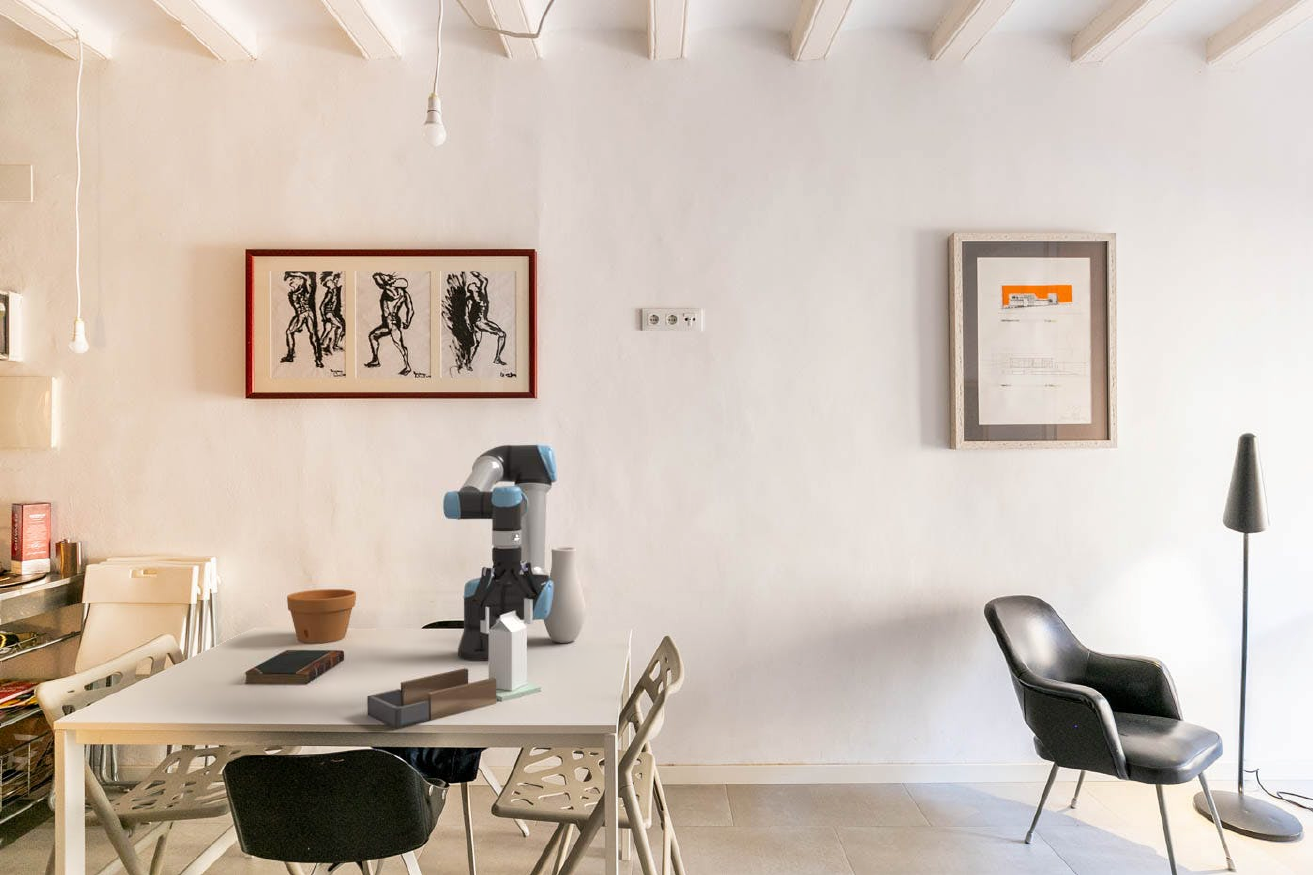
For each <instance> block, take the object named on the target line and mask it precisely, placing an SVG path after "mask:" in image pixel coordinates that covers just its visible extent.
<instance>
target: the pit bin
mask: <svg viewBox="0 0 1313 875" xmlns="http://www.w3.org/2000/svg"><path fill="white" fill-rule="evenodd" d="M366 705H367V710H366V711H367V715H366V716H368V717H369V718H372V719H374V720H376V721H378V722H381V723H382V724H384V725H387V726H389V727H391V728H393V729H394V730H401V729H405V728H408V727H411V726H412V727H413V726H415V725H419V724H423V723H428V722H430V720H429V701H423V702H419V703H415V704H411V705H407V706H401V688H400V689H399V688H396V689H393V690H390V691H384V692H380V693H375V694H371V695H367V704H366Z"/></svg>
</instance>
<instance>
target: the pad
mask: <svg viewBox="0 0 1313 875" xmlns="http://www.w3.org/2000/svg"><path fill="white" fill-rule="evenodd" d="M541 691H542V687H541V686H539V685H536V684H533V683H530V682H527V684H525V685H523V686H521V687H519V688H517V689H515V690H513V691H508V690H501V689H496V701H497V700H498V701H500V702H505V701H509V700H511V699H515V698H516V699H517V698H519V697H522V696H527V695H531V694H535V693H539V692H541Z"/></svg>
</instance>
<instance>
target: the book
mask: <svg viewBox="0 0 1313 875" xmlns="http://www.w3.org/2000/svg"><path fill="white" fill-rule="evenodd" d="M344 661H345V651H344V650H341V649H339V650H338V649H336V650H335V649H334V650H333V649H330V650H329V649H324V650H323V649H321V650H320V649H316V650H314V649H287V650H284V651H282V652H280V653H278V654H276V655H274V656H273V657H271V658H269V659H267V660H265V661H264V662H262V663H259V664H257V665H256V666H254V667H252V668H250V669H248V670H246V671H245V672H244V673H243V674H244V675H245V685H247V684H248V685H250V684H251V685H309V684H310V683H312V682H313V681H314V680H316V679H317V678H320V676H323V675H325V674H326V673H327V672H328V671H330V670H331V669H333V668H334V667H337V665H339V664H341V663H342V662H344ZM311 681H312V682H311Z"/></svg>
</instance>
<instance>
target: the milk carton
mask: <svg viewBox="0 0 1313 875" xmlns="http://www.w3.org/2000/svg"><path fill="white" fill-rule="evenodd" d="M496 622H497V623H496V624H495V625H494V626H492V627H491V628H490V629H489V660H488V679H490V678H495V679H496V689H501V690H508V691H513V690H515V689H517V688H519V687H521V686H523V685H525V684H527V683H528V682H527V681H528V680H527V679H528V678H527V675H528V674H527V671H528V670H527V663H528V662H527V661H528V658H527V656H528V654H527V652H528V649H527V644H528V643H527V642H528V641H527V640H528V639H527V634H528V630H527V629H528V628H527V626H526V625H527V624H526V623H524V621H523V620H520V619H519V618H518V617H517V616H516V611H512V612H509V613H506V614H503V615H500V618H498V619H497V620H496Z"/></svg>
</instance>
